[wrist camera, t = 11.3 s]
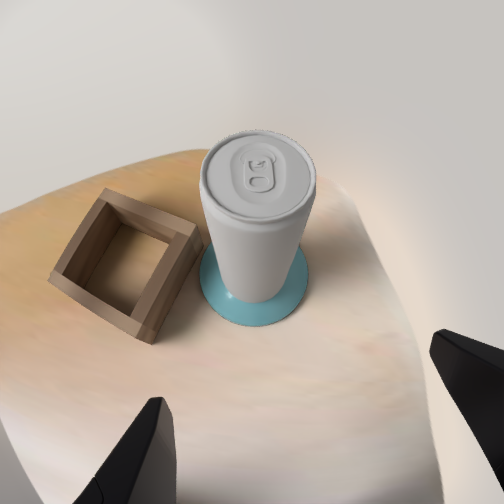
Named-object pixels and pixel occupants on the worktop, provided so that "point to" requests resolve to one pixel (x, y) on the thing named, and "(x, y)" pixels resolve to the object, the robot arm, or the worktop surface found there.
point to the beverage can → (256, 209)
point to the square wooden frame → (95, 243)
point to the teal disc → (252, 312)
